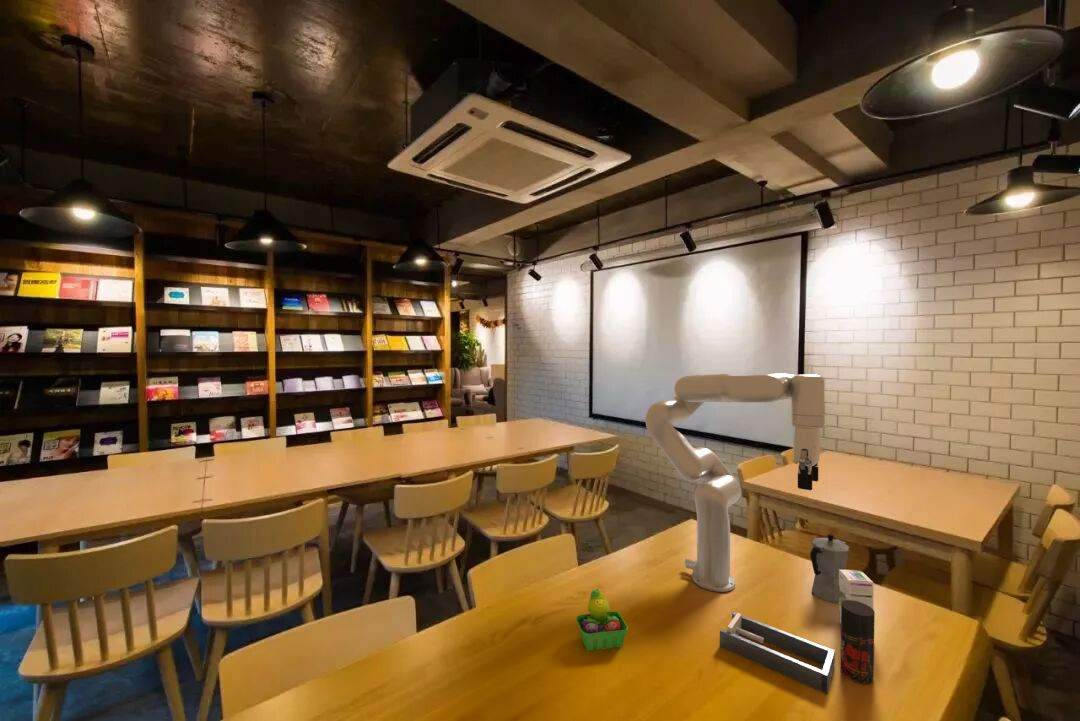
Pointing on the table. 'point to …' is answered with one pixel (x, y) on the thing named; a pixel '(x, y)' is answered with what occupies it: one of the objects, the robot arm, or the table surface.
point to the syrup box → (855, 588)
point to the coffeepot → (828, 566)
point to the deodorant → (857, 641)
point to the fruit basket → (601, 624)
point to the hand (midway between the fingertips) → (808, 484)
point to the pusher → (736, 629)
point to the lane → (780, 661)
